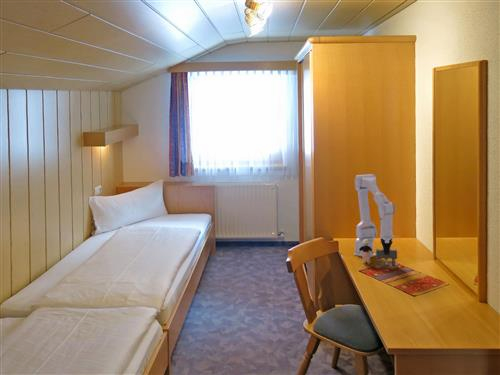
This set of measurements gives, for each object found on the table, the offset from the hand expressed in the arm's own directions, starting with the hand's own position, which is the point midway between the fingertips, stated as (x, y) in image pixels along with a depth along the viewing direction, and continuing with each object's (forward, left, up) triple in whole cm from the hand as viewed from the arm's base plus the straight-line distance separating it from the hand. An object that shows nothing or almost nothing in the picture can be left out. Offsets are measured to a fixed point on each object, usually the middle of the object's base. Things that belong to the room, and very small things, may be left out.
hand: (386, 253), depth 266 cm
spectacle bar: (0, 0, -2) cm, 2 cm away
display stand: (0, 0, -7) cm, 7 cm away
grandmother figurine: (-11, -2, -7) cm, 13 cm away
